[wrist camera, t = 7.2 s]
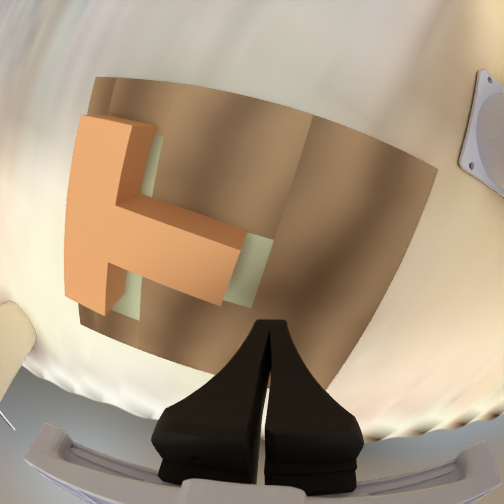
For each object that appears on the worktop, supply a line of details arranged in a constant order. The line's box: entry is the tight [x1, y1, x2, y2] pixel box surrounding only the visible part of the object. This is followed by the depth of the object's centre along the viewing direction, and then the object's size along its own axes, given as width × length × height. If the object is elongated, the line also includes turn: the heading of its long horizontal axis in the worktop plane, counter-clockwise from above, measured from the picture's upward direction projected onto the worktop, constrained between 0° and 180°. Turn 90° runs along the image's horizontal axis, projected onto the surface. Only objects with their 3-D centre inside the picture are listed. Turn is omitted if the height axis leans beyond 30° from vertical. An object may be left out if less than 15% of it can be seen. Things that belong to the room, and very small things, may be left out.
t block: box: [64, 115, 247, 316], centre depth 16 cm, size 10×12×3 cm
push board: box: [78, 77, 438, 390], centre depth 18 cm, size 22×20×1 cm
